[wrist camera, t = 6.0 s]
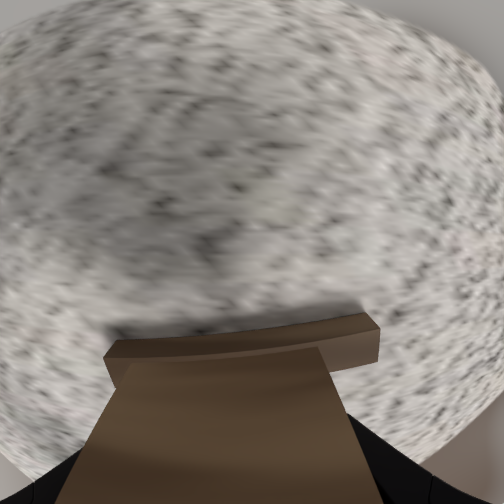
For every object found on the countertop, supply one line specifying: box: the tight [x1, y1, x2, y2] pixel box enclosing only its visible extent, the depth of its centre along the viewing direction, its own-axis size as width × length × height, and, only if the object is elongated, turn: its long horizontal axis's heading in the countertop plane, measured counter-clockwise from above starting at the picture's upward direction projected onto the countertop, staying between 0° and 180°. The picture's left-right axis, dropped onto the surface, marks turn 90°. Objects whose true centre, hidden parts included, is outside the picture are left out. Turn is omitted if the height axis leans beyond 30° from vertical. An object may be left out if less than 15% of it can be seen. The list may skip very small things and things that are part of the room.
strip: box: [103, 313, 380, 388], centre depth 14 cm, size 2×14×2 cm, turn 97°
